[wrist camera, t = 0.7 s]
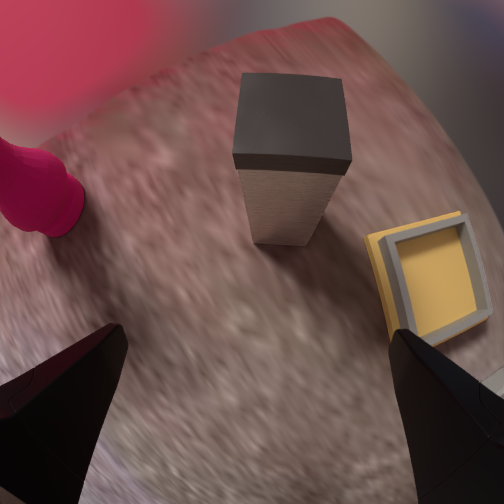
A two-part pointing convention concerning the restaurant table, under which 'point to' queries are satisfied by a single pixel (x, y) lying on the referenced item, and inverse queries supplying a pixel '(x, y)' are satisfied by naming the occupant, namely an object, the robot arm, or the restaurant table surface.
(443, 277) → the square tray
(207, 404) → the restaurant table surface
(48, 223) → the pepper mill
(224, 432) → the restaurant table surface
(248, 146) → the grey rectangular block
